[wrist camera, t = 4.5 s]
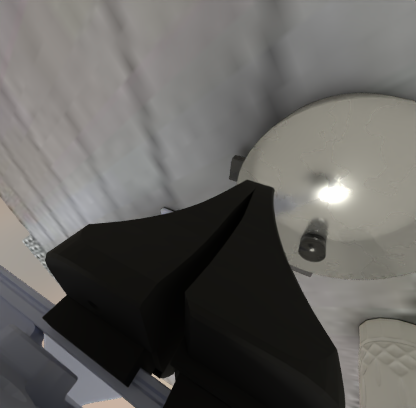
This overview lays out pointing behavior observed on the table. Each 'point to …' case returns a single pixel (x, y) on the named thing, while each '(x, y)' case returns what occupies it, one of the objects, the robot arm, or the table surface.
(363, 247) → the lid
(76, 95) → the table surface
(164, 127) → the table surface
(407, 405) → the white cup
